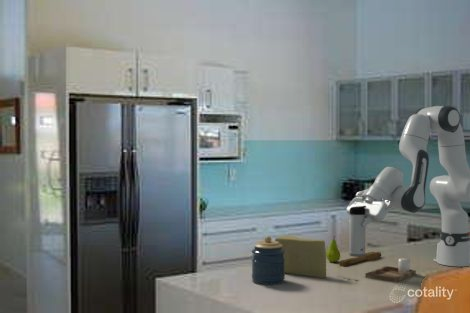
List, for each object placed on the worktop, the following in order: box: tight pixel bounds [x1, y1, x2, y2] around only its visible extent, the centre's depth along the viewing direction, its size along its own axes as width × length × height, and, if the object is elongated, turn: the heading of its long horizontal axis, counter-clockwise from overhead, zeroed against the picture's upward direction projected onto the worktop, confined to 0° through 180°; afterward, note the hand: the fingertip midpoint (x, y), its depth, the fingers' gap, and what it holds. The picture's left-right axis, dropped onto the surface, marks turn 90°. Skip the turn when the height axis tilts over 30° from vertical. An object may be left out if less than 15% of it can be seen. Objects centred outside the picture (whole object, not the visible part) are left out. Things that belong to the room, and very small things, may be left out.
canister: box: [251, 235, 286, 285], centre depth 238 cm, size 13×13×18 cm
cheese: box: [274, 234, 327, 279], centre depth 250 cm, size 22×10×15 cm, turn 49°
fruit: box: [326, 235, 341, 263], centre depth 274 cm, size 6×6×12 cm
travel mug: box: [348, 206, 366, 258], centre depth 244 cm, size 6×7×20 cm
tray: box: [364, 265, 417, 283], centre depth 242 cm, size 18×13×3 cm
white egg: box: [397, 257, 411, 275], centre depth 244 cm, size 4×4×6 cm
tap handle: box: [338, 251, 382, 268], centre depth 275 cm, size 3×3×30 cm
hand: (356, 224), depth 243 cm, fingers closed on travel mug, 6 cm apart
